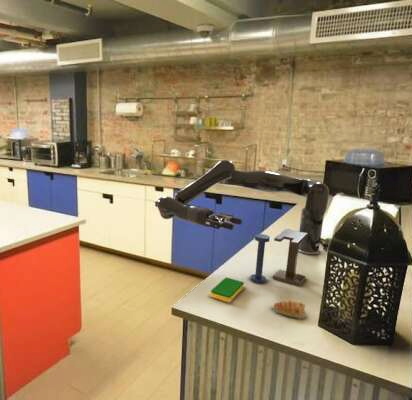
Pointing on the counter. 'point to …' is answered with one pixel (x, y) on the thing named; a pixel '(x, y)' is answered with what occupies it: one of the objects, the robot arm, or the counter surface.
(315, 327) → the counter surface
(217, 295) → the dish sponge
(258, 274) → the peg
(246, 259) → the counter surface
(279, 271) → the stand
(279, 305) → the pastry
